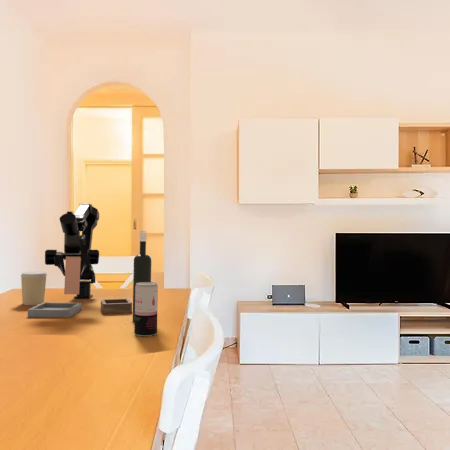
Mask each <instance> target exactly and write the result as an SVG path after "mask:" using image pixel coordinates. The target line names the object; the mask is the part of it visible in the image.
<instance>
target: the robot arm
mask: <svg viewBox="0 0 450 450" xmlns="http://www.w3.org/2000/svg"><path fill="white" fill-rule="evenodd" d="M99 220H100V212H99V210H98V208H96V207H95V206H93V204H91V203H84V202H82V203H79V204H78V208H77V209H76V211H75V212H73V211H67V212H66V213H64V214H62V215H61V216H59V223H60V226H61V230H62V233H64V240H63V241H64V242H63V243H64V244H63V252H62V251H58V250H57V249H46V250H45V251H44V264H45V265H46V266H47V265H48V266H49V265H50V266H51V265H52V266H53V265H54V267H57V268H58V269H59V270H60V272H61V273H62V275H63V276H64V277H65V262H64V261H66V256H80V257H81V263H80V286H79V294H75V296H73V299H90V298H92V297H93V296H94V295H93V294H91V290H92V289H91V286H92V285H91V284H96V272H95V271H94V268H93V265H98V264H99V260H100V251H99V250H98V249H92V242H93V233H94V232H93V231H94V230H95V228H96V227H97V226H98V222H99Z"/></svg>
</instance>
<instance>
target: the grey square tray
mask: <svg viewBox="0 0 450 450" xmlns="http://www.w3.org/2000/svg"><path fill="white" fill-rule="evenodd" d="M82 305H83V304H82V302H55V301H54V302H46V301H44V302H43V303H41V304H39V305H33V307H31V308H28V309H27V318H65V319H66V318H67V319H68V318H71V317H73V316H74V315H76V314H77V313H79V312H80V311H82V308H83V307H82Z"/></svg>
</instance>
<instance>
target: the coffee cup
mask: <svg viewBox="0 0 450 450" xmlns="http://www.w3.org/2000/svg"><path fill="white" fill-rule="evenodd" d="M47 276H48V274H47V272H45V271H26V272H25V271H23V272H21V274H20V279H21V296H22V298H21V299H22V301H21V302H22V304H23V305H24V306H37V305H38V304H41V303H43V302H45V295H46V286H47V285H46V284H47V283H46V282H47Z"/></svg>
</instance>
